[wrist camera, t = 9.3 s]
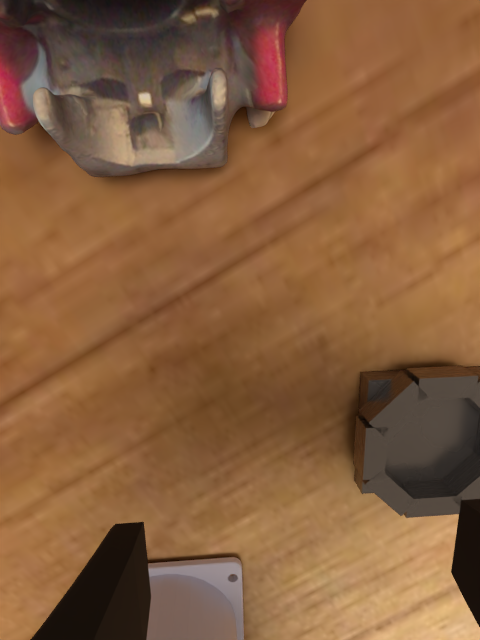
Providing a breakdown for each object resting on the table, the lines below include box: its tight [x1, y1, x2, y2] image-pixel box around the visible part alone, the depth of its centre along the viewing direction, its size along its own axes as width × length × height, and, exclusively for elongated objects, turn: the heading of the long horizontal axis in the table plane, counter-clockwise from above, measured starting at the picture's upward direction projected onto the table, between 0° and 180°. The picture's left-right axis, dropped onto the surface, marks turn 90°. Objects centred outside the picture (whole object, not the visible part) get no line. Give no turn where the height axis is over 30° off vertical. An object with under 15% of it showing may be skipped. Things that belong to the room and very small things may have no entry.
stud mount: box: [354, 366, 480, 518], centre depth 18 cm, size 7×7×2 cm
